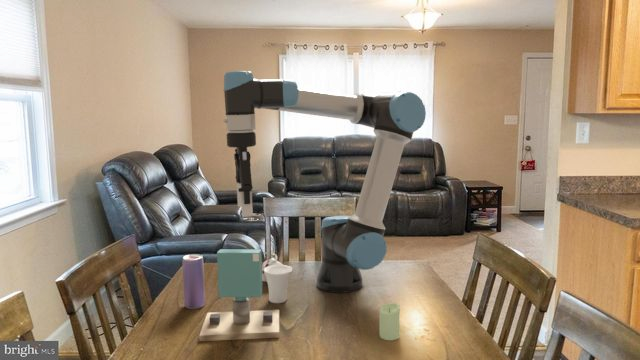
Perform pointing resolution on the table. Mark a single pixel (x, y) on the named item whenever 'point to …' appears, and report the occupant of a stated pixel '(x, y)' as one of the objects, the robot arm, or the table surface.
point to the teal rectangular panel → (239, 273)
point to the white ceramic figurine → (268, 263)
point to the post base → (240, 330)
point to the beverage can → (193, 281)
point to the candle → (389, 321)
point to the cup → (278, 282)
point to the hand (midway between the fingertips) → (244, 211)
